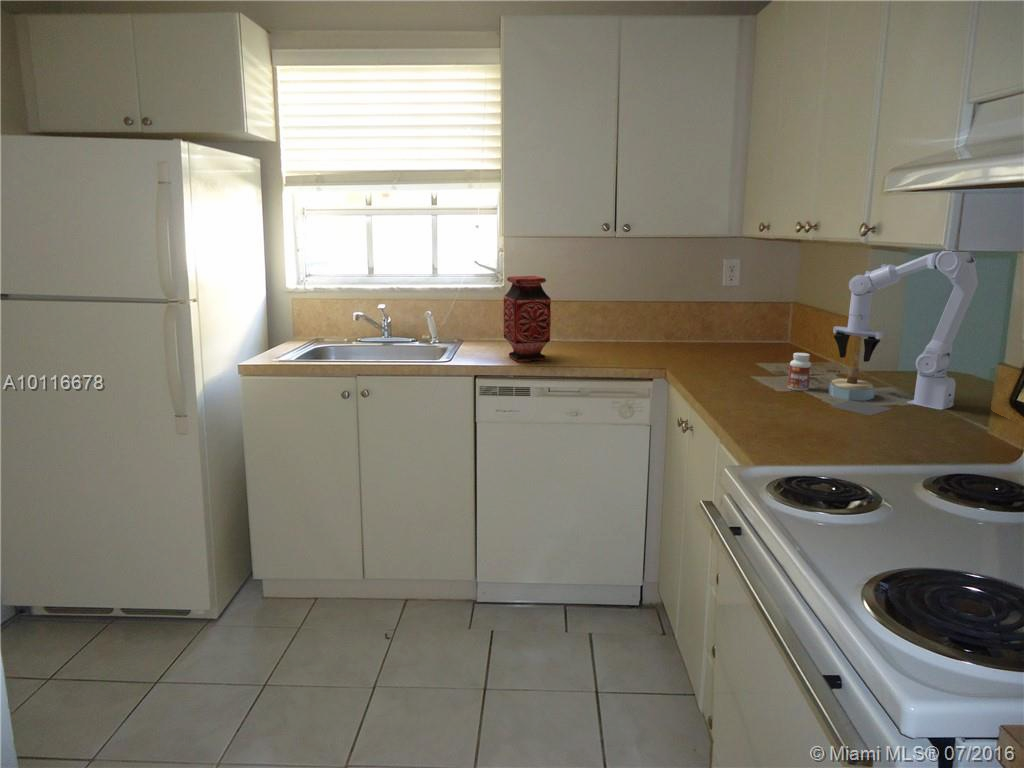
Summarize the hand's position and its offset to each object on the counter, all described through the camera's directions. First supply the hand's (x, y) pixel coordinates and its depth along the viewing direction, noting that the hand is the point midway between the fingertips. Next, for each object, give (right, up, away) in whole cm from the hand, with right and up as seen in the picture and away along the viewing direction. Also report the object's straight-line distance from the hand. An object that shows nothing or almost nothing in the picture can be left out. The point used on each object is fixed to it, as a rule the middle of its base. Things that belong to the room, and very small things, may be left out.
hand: (854, 359), depth 226 cm
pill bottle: (-15, -9, +5) cm, 19 cm away
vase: (-99, +2, +50) cm, 111 cm away
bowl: (-3, -11, -5) cm, 13 cm away
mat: (-7, -15, -18) cm, 24 cm away
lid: (-4, -8, -6) cm, 10 cm away
